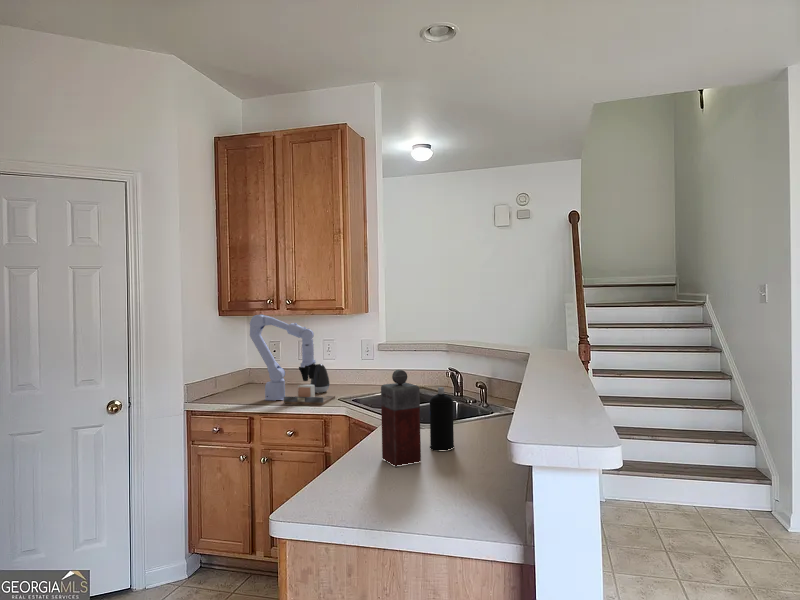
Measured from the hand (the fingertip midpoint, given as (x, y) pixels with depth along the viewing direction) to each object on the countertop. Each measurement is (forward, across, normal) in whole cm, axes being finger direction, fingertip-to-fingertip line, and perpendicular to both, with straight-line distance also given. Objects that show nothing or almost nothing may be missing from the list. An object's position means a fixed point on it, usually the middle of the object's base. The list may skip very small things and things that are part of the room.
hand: (308, 379), depth 267 cm
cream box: (+8, -8, -2) cm, 12 cm away
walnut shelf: (+9, -6, -3) cm, 11 cm away
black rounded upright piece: (+10, +18, +1) cm, 20 cm away
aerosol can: (+10, -76, -79) cm, 110 cm away
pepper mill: (+10, -91, -68) cm, 114 cm away
